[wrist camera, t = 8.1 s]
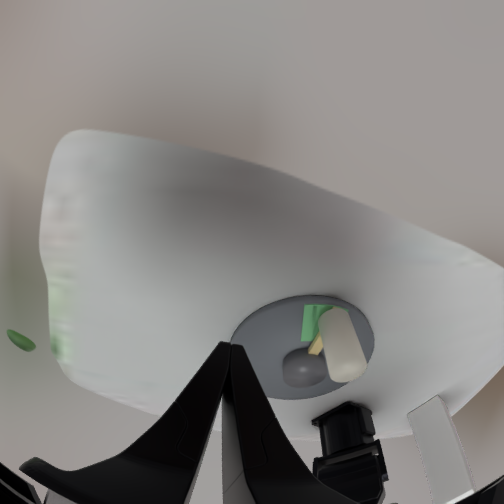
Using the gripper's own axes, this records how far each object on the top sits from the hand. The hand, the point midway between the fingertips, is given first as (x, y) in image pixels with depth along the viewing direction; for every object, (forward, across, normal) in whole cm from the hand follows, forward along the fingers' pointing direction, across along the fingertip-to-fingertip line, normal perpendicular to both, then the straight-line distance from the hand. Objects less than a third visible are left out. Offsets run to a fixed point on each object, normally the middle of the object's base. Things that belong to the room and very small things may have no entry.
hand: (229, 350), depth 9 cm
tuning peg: (+10, -8, +8) cm, 15 cm away
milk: (+11, -35, +23) cm, 44 cm away
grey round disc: (+11, -8, +11) cm, 17 cm away
